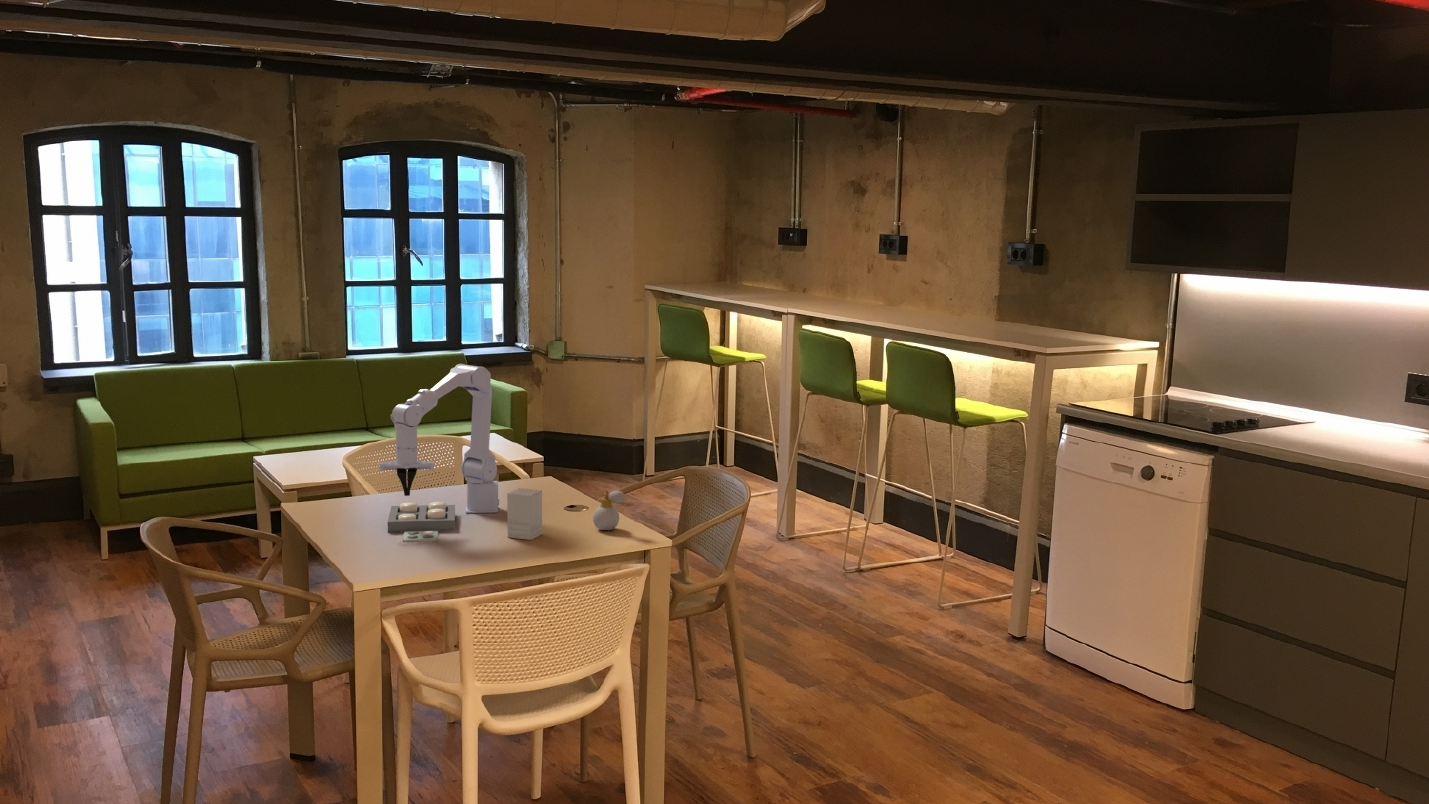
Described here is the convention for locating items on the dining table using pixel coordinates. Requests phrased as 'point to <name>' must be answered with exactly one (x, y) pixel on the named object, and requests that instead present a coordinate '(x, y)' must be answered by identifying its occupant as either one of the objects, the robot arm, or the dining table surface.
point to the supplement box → (524, 513)
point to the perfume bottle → (608, 511)
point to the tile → (420, 536)
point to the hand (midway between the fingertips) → (407, 495)
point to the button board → (421, 520)
